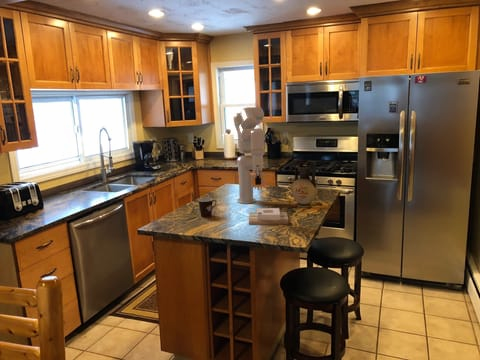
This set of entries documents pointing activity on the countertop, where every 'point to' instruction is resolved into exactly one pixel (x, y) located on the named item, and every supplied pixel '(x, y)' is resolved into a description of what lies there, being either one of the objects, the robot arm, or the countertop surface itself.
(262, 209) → the socket
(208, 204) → the coffee mug
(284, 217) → the board
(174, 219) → the countertop surface
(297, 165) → the amphora
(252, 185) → the orange block
